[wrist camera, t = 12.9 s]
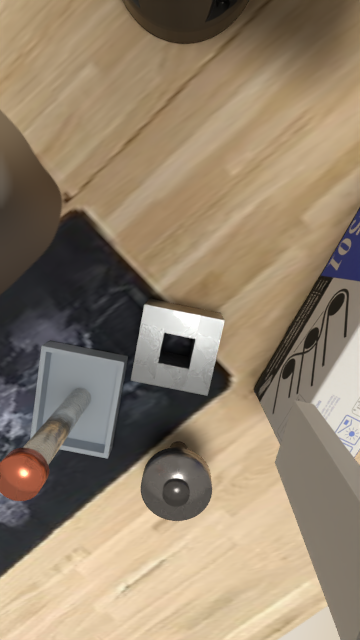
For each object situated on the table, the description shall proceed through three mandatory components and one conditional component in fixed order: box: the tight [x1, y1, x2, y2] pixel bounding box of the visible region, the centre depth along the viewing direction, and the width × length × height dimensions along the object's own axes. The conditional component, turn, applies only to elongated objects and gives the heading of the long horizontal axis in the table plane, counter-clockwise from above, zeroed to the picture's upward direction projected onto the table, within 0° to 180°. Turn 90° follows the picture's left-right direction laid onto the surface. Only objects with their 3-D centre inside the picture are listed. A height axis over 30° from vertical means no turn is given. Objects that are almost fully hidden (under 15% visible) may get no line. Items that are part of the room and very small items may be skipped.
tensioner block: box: [131, 299, 225, 396], centre depth 41 cm, size 9×9×5 cm
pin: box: [0, 388, 91, 501], centre depth 36 cm, size 4×4×16 cm
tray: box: [30, 341, 128, 458], centre depth 44 cm, size 13×10×2 cm
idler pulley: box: [141, 442, 212, 521], centre depth 42 cm, size 8×8×9 cm
